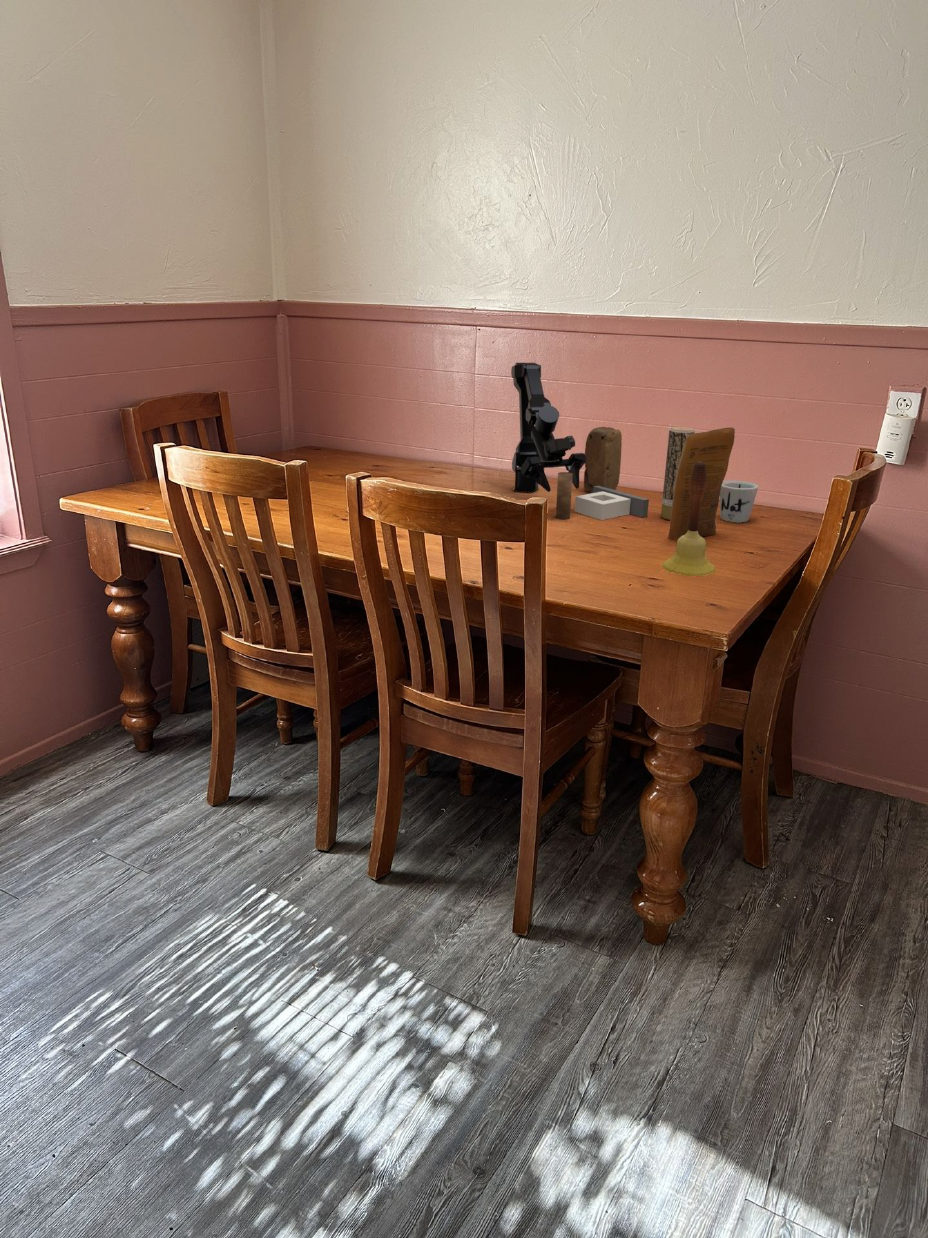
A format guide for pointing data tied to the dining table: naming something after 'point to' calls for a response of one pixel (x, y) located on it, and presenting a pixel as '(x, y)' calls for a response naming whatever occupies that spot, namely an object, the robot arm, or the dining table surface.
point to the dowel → (564, 495)
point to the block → (602, 458)
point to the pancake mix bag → (716, 457)
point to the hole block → (602, 505)
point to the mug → (737, 500)
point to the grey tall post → (673, 465)
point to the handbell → (692, 534)
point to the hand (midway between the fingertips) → (563, 489)
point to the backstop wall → (636, 505)
